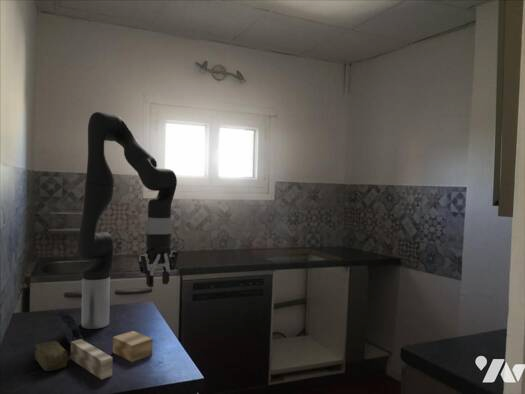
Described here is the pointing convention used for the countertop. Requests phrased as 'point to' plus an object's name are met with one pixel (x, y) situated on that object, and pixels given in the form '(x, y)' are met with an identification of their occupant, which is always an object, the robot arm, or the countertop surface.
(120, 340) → the oak block
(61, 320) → the stone
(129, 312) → the countertop surface
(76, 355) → the board
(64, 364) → the stone block
